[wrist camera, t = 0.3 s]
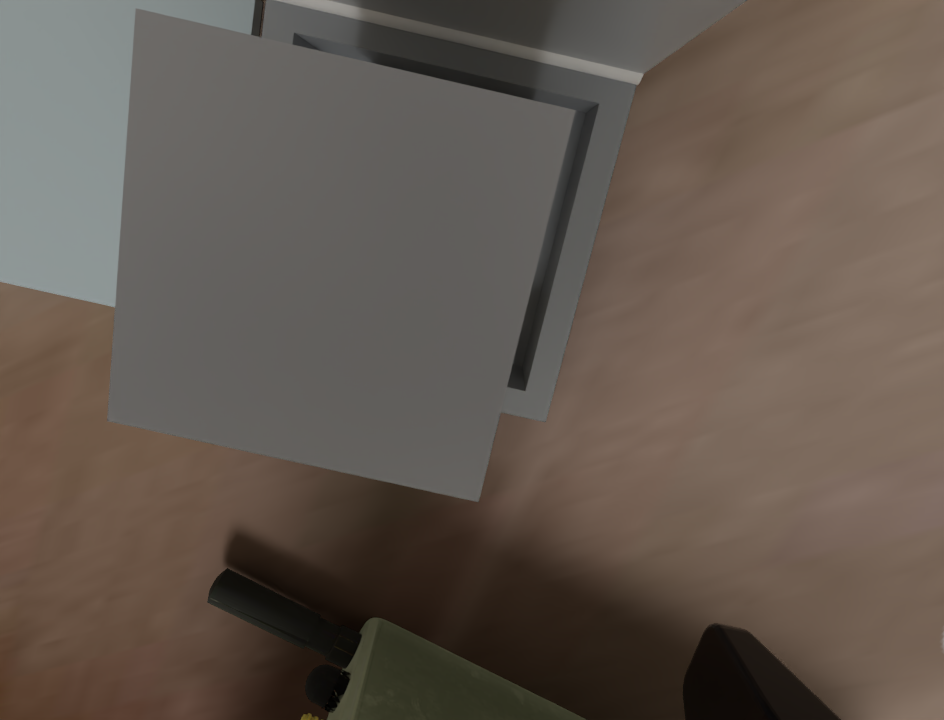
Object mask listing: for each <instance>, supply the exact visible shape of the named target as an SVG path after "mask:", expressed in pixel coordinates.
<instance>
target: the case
mask: <svg viewBox="0 0 944 720" xmlns="http://www.w3.org/2000/svg"><path fill="white" fill-rule="evenodd" d="M745 1H747V0H266V5H265V13H264V22H263V30H262V38H266V39H271V40H275V41H279V42H284V43H288V44H292V45H297V46H301V47H305V48H310V49H314V50H318V51H323V52H327V53H331V54H335V55H340V56H344V57H348V58H353V59H357V60H361V61H366V62H370V63H374V64H379V65H383V66H387V67H392V68H396V69H400V70H404V71H409V72H413V73H417V74H422V75H426V76H430V77H435V78H439V79H443V80H448V81H452V82H456V83H461V84H465V85H469V86H473V87H478V88H482V89H486V90H491V91H495V92H499V93H504V94H508V95H512V96H517V97H521V98H525V99H529V100H534V101H538V102H542V103H547V104H551V105H555V106H560V107H564V108H568V109H573V110H576V111H575V115H574V119H573V123H572V127H571V131H570V135H569V139H568V143H567V147H566V151H565V155H564V159H563V163H562V167H561V171H560V175H559V179H558V184H557V188H556V192H555V196H554V200H553V204H552V208H551V212H550V216H549V220H548V224H547V228H546V232H545V236H544V240H543V244H542V248H541V252H540V256H539V260H538V264H537V268H536V272H535V276H534V280H533V284H532V288H531V292H530V297H529V301H528V305H527V309H526V313H525V317H524V321H523V325H522V329H521V333H520V337H519V341H518V345H517V349H516V353H515V357H514V361H513V365H512V369H511V373H510V377H509V381H508V385H507V389H506V393H505V397H504V401H503V405H502V409H501V413H506V414H510V415H515V416H520V417H524V418H529V419H533V420H538V421H542V422H546V419H547V415H548V412H549V408H550V404H551V400H552V397H553V393H554V389H555V386H556V382H557V378H558V374H559V371H560V367H561V363H562V360H563V356H564V352H565V348H566V345H567V341H568V337H569V334H570V330H571V326H572V323H573V319H574V315H575V311H576V308H577V304H578V300H579V297H580V293H581V289H582V285H583V282H584V278H585V274H586V271H587V267H588V263H589V259H590V256H591V252H592V248H593V245H594V241H595V237H596V233H597V230H598V226H599V222H600V219H601V215H602V211H603V207H604V204H605V200H606V196H607V193H608V189H609V185H610V182H611V178H612V174H613V170H614V167H615V163H616V159H617V156H618V152H619V148H620V144H621V141H622V137H623V133H624V130H625V126H626V122H627V118H628V115H629V111H630V107H631V104H632V100H633V96H634V92H635V89H636V85H638V84H639V83H640V81H641V79H642V77H643V74H644V73H646V72H647V71H648V70H650V69H651V68H653V67H654V66H655V65H657V64H658V63H660V62H661V61H662V60H664V59H665V58H667V57H668V56H670V55H671V54H672V53H674V52H675V51H677V50H678V49H679V48H681V47H682V46H684V45H685V44H686V43H688V42H689V41H691V40H692V39H693V38H695V37H696V36H698V35H699V34H700V33H702V32H703V31H705V30H706V29H707V28H709V27H710V26H712V25H713V24H714V23H716V22H717V21H719V20H720V19H722V18H723V17H724V16H726V15H727V14H729V13H730V12H731V11H733V10H734V9H736V8H737V7H738V6H740V5H741V4H743V3H744V2H745Z"/></svg>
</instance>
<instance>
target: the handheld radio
mask: <svg viewBox="0 0 944 720" xmlns="http://www.w3.org/2000/svg"><path fill="white" fill-rule="evenodd" d="M207 602H208V603H210V604H212V605H214V606H216V607H218V608H220V609H222V610H224V611H226V612H228V613H230V614H233V615H235V616H237V617H239V618H241V619H243V620H245V621H247V622H249V623H251V624H253V625H255V626H257V627H259V628H261V629H264V630H266V631H268V632H270V633H272V634H274V635H276V636H278V637H280V638H282V639H284V640H286V641H288V642H290V643H292V644H294V645H297V646H299V647H301V648H303V649H304V647H305V646H306V647H308V648H310V649H312V650H314V651H316V652H318V653H320V654H322V655H324V656H326V660H328V661H330V662H332V663H334V664H336V665H338V666H340V667H342V668H343V669H340V670H339V669H337V668H335V667H333V666H330V665H320V666H318V667H316V668H315V669H314V670H313V671H312V672H311V673H310V674H309V676H308V678H307V681H306V685H305V691H306V695H307V697H308V699H309V700H310V701H311V702H313V703H315V704H317V705H319V706H321V707H325V708H326V709H325V708H323V709H325V710H326V711H328V712H329V715H328V718H327V720H587V719H585V718H583V717H581V716H579V715H577V714H575V713H573V712H571V711H569V710H567V709H565V708H562V707H560V706H558V705H556V704H554V703H552V702H550V701H548V700H546V699H544V698H542V697H540V696H538V695H536V694H534V693H532V692H530V691H528V690H526V689H524V688H522V687H520V686H518V685H516V684H514V683H512V682H510V681H508V680H506V679H504V678H502V677H500V676H498V675H496V674H494V673H492V672H490V671H488V670H486V669H484V668H482V667H480V666H478V665H476V664H474V663H472V662H470V661H468V660H466V659H464V658H462V657H460V656H458V655H456V654H454V653H452V652H450V651H448V650H446V649H444V648H442V647H440V646H438V645H436V644H434V643H432V642H430V641H428V640H426V639H423V638H421V637H419V636H417V635H415V634H413V633H411V632H409V631H407V630H405V629H403V628H401V627H399V626H397V625H395V624H393V623H391V622H389V621H387V620H385V619H382V618H370V619H369V620H368V621H367V622H366V623H365V624H364V626H363V627H362V629H361V631H360V632H359V633H358V632H356V631H354V630H352V629H350V628H348V627H346V626H343V625H342V626H341V627H339V626H337V625H335V624H333V623H331V622H329V621H327V620H325V619H323V618H321V617H320V615H319V614H317V613H315V612H313V611H311V610H309V609H307V608H305V607H303V606H301V605H299V604H297V603H295V602H293V601H291V600H289V599H287V598H285V597H283V596H281V595H279V594H277V593H275V592H273V591H271V590H269V589H267V588H265V587H263V586H261V585H259V584H257V583H255V582H253V581H252V580H250V579H248V578H246V577H244V576H242V575H240V574H238V573H236V572H234V571H232V570H230V569H228V568H227V569H226V570H225V571H224V572H222V573H221V574H220V575H219V576H218V577H217V578H216V580H215V581H214V583H213V585H212V586H211V588H210V591H209V596H208V601H207ZM341 670H342V671H341ZM340 673H341V674H340ZM334 690H335V691H336V692H334ZM331 695H332V696H334V697H332V696H331ZM327 703H328V704H327ZM301 720H318V717H316V716H315V717H314V718H313V717H312V714H310V713H308V714H304V715H303V716H302V718H301ZM321 720H323V719H321Z"/></svg>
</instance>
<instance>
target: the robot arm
mask: <svg viewBox="0 0 944 720" xmlns="http://www.w3.org/2000/svg"><path fill="white" fill-rule="evenodd" d="M683 700H684V709H685V718H686V720H841V719H840V718H839V717H838V716H837V715H836V714H835V713H834V712H832V711H831V710H830V709H829V708H828V707H827V706H826V705H825V704H824V703H823V702H822V701H821V700H820V699H819V698H818V697H817V696H816V695H815V694H814V693H813V692H812V691H811V690H810V689H808V688H807V687H806V686H805V685H804V684H803V683H802V682H801V681H800V680H799V679H798V678H797V677H796V676H795V675H794V674H793V673H792V672H791V671H790V670H789V669H788V668H787V667H786V666H784V665H783V664H782V663H781V662H780V661H779V660H778V659H777V658H776V657H775V656H774V655H773V654H772V653H771V652H770V651H769V650H768V649H767V648H766V647H765V646H764V645H763V644H761V643H760V642H759V641H758V640H757V639H756V638H755V637H754V636H753V635H752V634H751V633H750V632H748V631H747V630H745V629H742V628H737V627H732V626H728V625H723V624H718V623H714V624H711V625H709V626H708V627H707V628H706V630H705V631H704V633H703V635H702V637H701V640H700V642H699V644H698V647H697V649H696V651H695V653H694V656H693V658H692V660H691V663H690V665H689V667H688V669H687V672H686V675H685V678H684V684H683Z"/></svg>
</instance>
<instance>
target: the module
mask: <svg viewBox="0 0 944 720" xmlns="http://www.w3.org/2000/svg"><path fill="white" fill-rule="evenodd" d="M575 111H576V110H573V109H568V108H564V107H560V106H555V105H551V104H547V103H542V102H538V101H534V100H529V99H525V98H521V97H517V96H512V95H508V94H504V93H499V92H495V91H491V90H486V89H482V88H478V87H473V86H469V85H465V84H461V83H456V82H452V81H448V80H443V79H439V78H435V77H430V76H426V75H422V74H417V73H413V72H409V71H404V70H400V69H396V68H392V67H387V66H383V65H379V64H374V63H370V62H366V61H361V60H357V59H353V58H348V57H344V56H340V55H335V54H331V53H327V52H323V51H318V50H314V49H310V48H305V47H301V46H297V45H292V44H288V43H284V42H279V41H275V40H271V39H266V38H262V37H258V36H254V35H249V34H245V33H241V32H236V31H232V30H228V29H223V28H219V27H215V26H210V25H206V24H202V23H197V22H193V21H189V20H185V19H180V18H176V17H172V16H167V15H163V14H159V13H154V12H150V11H146V10H141V9H137V8H136V10H135V25H134V39H133V54H132V69H131V83H130V98H129V112H128V127H127V141H126V156H125V170H124V185H123V199H122V214H121V229H120V243H119V258H118V272H117V287H116V301H115V316H114V330H113V345H112V360H111V374H110V389H109V403H108V418H107V421H110V422H114V423H119V424H124V425H128V426H133V427H137V428H142V429H146V430H151V431H156V432H160V433H165V434H169V435H174V436H178V437H183V438H188V439H192V440H197V441H201V442H206V443H210V444H215V445H220V446H224V447H229V448H233V449H238V450H242V451H247V452H252V453H256V454H261V455H265V456H270V457H274V458H279V459H284V460H288V461H293V462H297V463H302V464H306V465H311V466H316V467H320V468H325V469H329V470H334V471H338V472H343V473H348V474H352V475H357V476H361V477H366V478H370V479H375V480H380V481H384V482H389V483H393V484H398V485H402V486H407V487H412V488H416V489H421V490H425V491H430V492H434V493H439V494H444V495H448V496H453V497H457V498H462V499H466V500H471V501H476V502H479V498H480V494H481V490H482V486H483V482H484V478H485V474H486V470H487V466H488V462H489V458H490V454H491V450H492V446H493V442H494V438H495V434H496V430H497V426H498V422H499V418H500V414H501V409H502V405H503V401H504V397H505V393H506V389H507V385H508V381H509V377H510V373H511V369H512V365H513V361H514V357H515V353H516V349H517V345H518V341H519V337H520V333H521V329H522V325H523V321H524V317H525V313H526V309H527V305H528V301H529V297H530V292H531V288H532V284H533V280H534V276H535V272H536V268H537V264H538V260H539V256H540V252H541V248H542V244H543V240H544V236H545V232H546V228H547V224H548V220H549V216H550V212H551V208H552V204H553V200H554V196H555V192H556V188H557V184H558V179H559V175H560V171H561V167H562V163H563V159H564V155H565V151H566V147H567V143H568V139H569V135H570V131H571V127H572V123H573V119H574V115H575Z"/></svg>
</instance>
